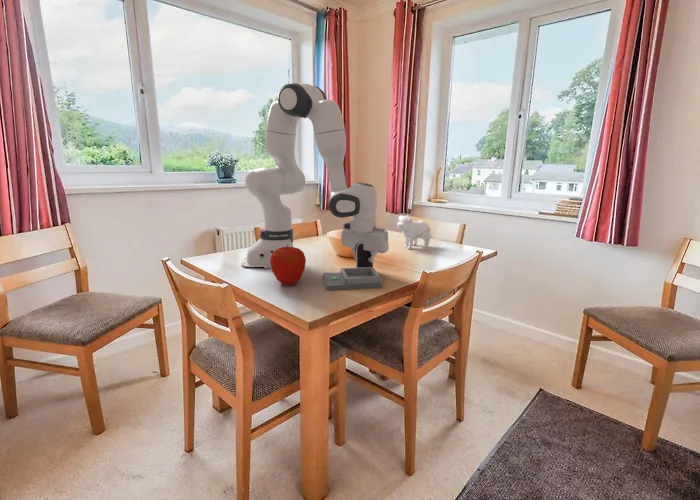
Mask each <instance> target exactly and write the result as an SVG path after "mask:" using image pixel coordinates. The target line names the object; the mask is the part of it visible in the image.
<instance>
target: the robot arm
mask: <svg viewBox="0 0 700 500" xmlns="http://www.w3.org/2000/svg"><path fill="white" fill-rule="evenodd" d="M301 118H303V119H309V120H310V121H311V124H312V127H313V133H314V139H315V144H316V147H317V149H318V153H319V155H320V156H321V159H322V161H324V164H325V166H326V169H327V173H328V179H329V186H330V193H329V196H328V197H329V198H328V207H329V211H330V213H331V214H332V215H333V216H334V217H335V218H340V219H344V218H349V217H352V220H351V221H348V222H343V223H342V225H341V227H342V231H341V236H340V237H341V238H340V243H341V245H342V246H343V247H345V248H346V247H347V248H351V251H352V254H353V255H354V256H353V257H354V260H356V256H355V245H356V244H357V243H362V244H363V249H364V250H366V251H371V254H372V255H371V257H369V258H368V262H371V263H372V262H373V263H374V262H375V257H376V255H377V254H385V253H387V252H388V251H389V249H390V248H389V232H388V231H387V229H386V228H384V227H377V213H376V210H377V208H378V201H377V200H378V199H377V198H378V193H377V189H376V187H375V186H374V185H372V184H370V183H367V182H361V181H360V182H355V183H354V184H353V185H351V186H350V187H348V186H347V181H346V174H345V170H344V168H345V167H344V159H345V154H346V151H347V135H346V128H345V123H344V119H343V115H342V111H341V109H340V107H339V104H338V103H337V102H336V101H335V100H333V99H327V95H326V93H325V92H324V91H323V89H321V88H320V87H318V86H315V85H312V84H309V83H297V82H290V83H287V84H284V85H283V86H282V87H281V88H280V89H279V92H278V94H277V100H275V101H273V102H272V103H271V105H270V108H269V111H268V115H267V120H266V128H265V131H266V132H265V143H264V144H265V145H264V149H265V151H266V153H267V154H268V155H269V156H270V157H271V158H272V159H274V165H275V166H274V167H258V168H255V169H251V170H249V171H248V172H247V174H246V176H245V182H244V183H245V187H246V189H247V191H248V193H249V194H251V195H252V196H253V197H254V198H256V199H257V201H258V202H259V205H260V206H261V210H262V213H263V214H262V215H263V222H264V228H260V229H259V231H258V232H259V239H258V240H257V241H255V242H254V243H253V244H251V245H250V246H249V248H247V252H246V257H244V258H243V259H242V261H241V264H242V265H241V267H243V266H244V267H243V268H245V267H264V268H263V269H272V268H271V263H270V260H271V256H272V253H273V252H274V251H275V250H276V249H278V248H281V247H287V245H288V247H294V229H293V226H292V225H293V223H292V221H293V220H292V211H291V209H290V208H289V207H288V206H287V205H285V204H283V203H282V201H281V196H286V195H294V194H296V193H300V192H302V191H303V190H304V188H305V185H306V176H305V174H304V173H303V171H302V170H301V169H300V168H299V165H298V164H297V162H296V156H295V149H296V148H295V147H296V133H297V126H298V121H299V120H300V119H301Z"/></svg>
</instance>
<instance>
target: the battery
mask: <svg viewBox="0 0 700 500" xmlns="http://www.w3.org/2000/svg"><path fill="white" fill-rule="evenodd" d="M371 255H372V254H371V251H366V250H364V249H363V244H362V243H357V244H356V245H355V256H356V259H355V268H357V267H373V268H374V262H372V263H371V262H368V258H369V257H371Z"/></svg>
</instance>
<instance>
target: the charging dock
mask: <svg viewBox="0 0 700 500" xmlns="http://www.w3.org/2000/svg"><path fill="white" fill-rule="evenodd" d="M322 278H323V281H324V285H325V289H326V291H338V290H340V291H342V290H360V289H361V290H363V289H383V283H382V281H381V278H382V277H381V276H380V274H379V273H378V271H377V270H376V269H375V267H374V266H373V267H357V268H356V267H342V268H340V272H324V273H322Z"/></svg>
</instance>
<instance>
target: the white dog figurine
mask: <svg viewBox="0 0 700 500" xmlns="http://www.w3.org/2000/svg"><path fill="white" fill-rule="evenodd" d="M395 226H397V228H398V229H399V230H400V231H402V234H403V235H404V238H405V239H404V243H405V244H404V245H403V248H404V247H405V248H404V249H406V250H407V249H408V250H407V251H410V250H412V248H413V245H415V246H417V244H418V243H417V242H418V239H421V240H423V241H424V242H423V245H421V249H422V248H423V249H422V250H426V249H428V248H429V244H430V241H431V240H430V239H431V238H433V237H434V236H433V235H431V228H430V226H429V223H427V222H426V221H425V220H422V219H419V220H414V219H413V218H412V216H408V215H402V214H400V215H399V216H398V220H397V223H396V224H394V227H395ZM425 248H426V249H425ZM409 249H410V250H409Z"/></svg>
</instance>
